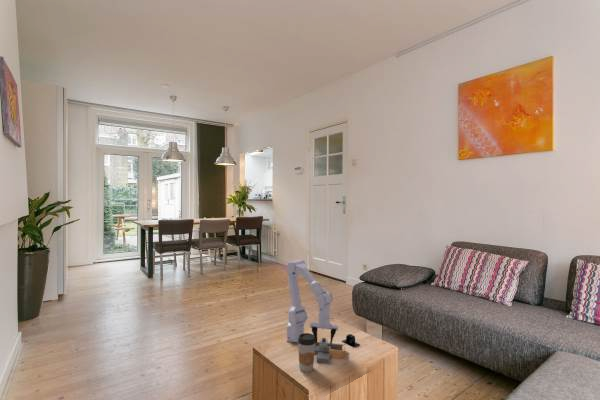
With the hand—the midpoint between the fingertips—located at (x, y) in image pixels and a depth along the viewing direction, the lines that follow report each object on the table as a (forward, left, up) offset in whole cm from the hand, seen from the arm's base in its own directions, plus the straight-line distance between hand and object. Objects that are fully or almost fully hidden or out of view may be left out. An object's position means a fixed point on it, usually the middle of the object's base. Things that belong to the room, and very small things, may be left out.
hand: (323, 342), depth 163 cm
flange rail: (+2, 0, -5) cm, 5 cm away
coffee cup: (-6, -18, -5) cm, 20 cm away
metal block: (0, 0, -3) cm, 3 cm away
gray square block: (+1, -8, -5) cm, 9 cm away
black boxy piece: (+13, +14, -6) cm, 20 cm away
